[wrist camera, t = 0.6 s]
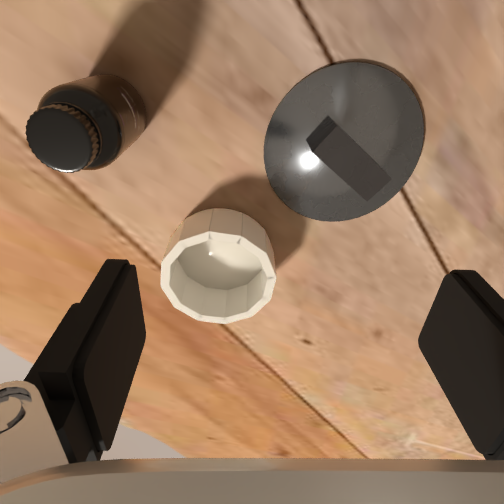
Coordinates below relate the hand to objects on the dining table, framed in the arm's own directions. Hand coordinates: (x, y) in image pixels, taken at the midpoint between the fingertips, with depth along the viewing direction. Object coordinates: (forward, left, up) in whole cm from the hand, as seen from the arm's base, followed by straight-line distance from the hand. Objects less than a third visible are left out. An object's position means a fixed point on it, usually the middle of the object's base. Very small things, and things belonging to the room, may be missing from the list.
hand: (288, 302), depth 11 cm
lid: (-2, +10, -30) cm, 32 cm away
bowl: (+17, +8, -30) cm, 35 cm away
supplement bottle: (+10, -11, -30) cm, 33 cm away
